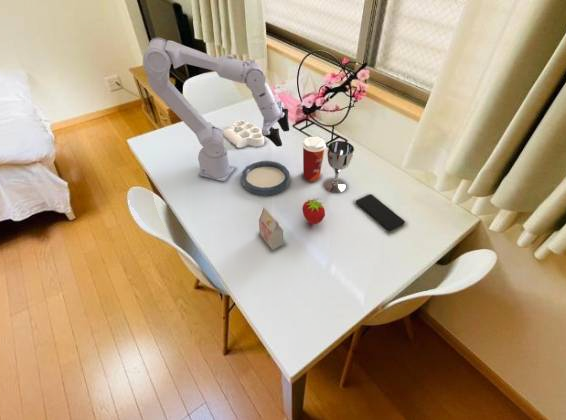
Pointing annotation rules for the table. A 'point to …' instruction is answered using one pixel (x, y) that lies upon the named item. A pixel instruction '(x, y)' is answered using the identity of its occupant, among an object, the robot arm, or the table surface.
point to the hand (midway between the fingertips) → (283, 138)
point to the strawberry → (313, 211)
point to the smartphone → (380, 212)
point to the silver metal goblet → (338, 163)
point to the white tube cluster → (244, 134)
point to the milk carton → (270, 230)
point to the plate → (265, 178)
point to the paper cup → (312, 157)
